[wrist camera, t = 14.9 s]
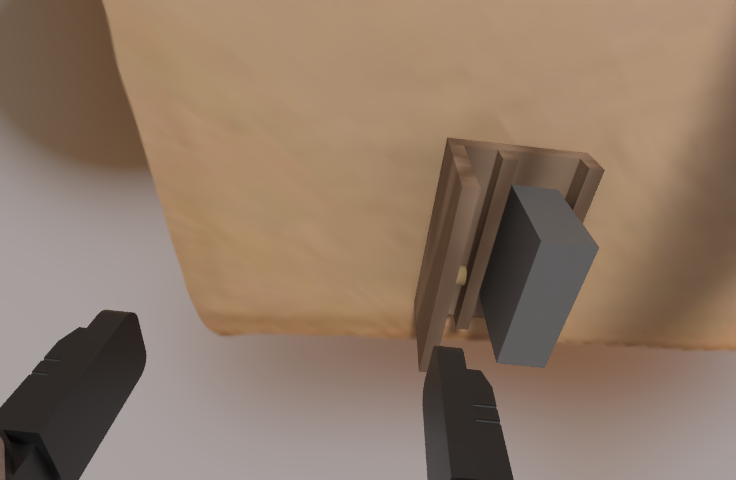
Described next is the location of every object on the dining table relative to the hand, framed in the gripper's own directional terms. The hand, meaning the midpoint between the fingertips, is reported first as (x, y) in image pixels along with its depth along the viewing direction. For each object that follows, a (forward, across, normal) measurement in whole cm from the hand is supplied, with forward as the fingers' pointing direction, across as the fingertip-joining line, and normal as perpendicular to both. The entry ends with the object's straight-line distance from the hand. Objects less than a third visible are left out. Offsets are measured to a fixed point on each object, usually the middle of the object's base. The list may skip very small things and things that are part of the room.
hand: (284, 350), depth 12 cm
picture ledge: (+28, -14, +12) cm, 34 cm away
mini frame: (+27, -16, +12) cm, 33 cm away
